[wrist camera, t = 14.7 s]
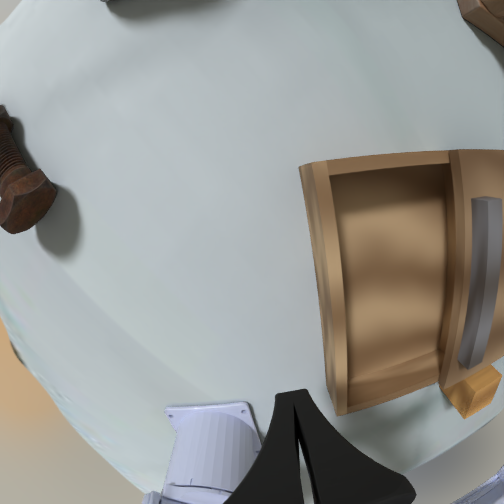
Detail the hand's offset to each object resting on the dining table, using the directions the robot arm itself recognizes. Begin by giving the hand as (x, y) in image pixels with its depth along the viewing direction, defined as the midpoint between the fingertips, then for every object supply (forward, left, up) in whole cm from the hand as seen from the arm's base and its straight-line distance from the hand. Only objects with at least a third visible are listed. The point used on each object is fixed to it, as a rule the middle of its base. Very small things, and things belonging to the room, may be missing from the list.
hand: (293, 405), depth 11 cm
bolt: (+18, +20, -10) cm, 29 cm away
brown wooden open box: (+1, -9, -9) cm, 13 cm away
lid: (+1, -19, -7) cm, 20 cm away
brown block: (-12, -18, -9) cm, 24 cm away
